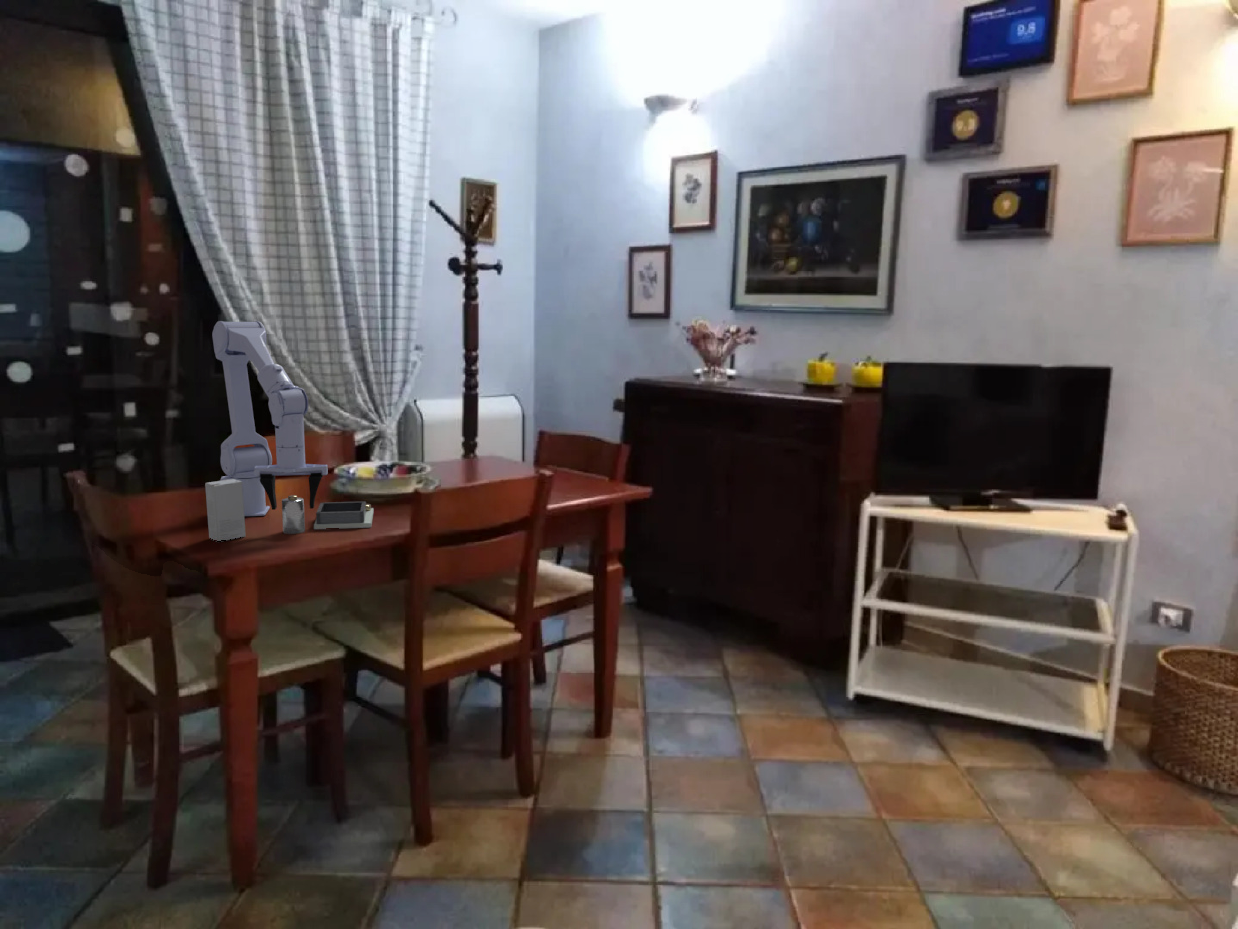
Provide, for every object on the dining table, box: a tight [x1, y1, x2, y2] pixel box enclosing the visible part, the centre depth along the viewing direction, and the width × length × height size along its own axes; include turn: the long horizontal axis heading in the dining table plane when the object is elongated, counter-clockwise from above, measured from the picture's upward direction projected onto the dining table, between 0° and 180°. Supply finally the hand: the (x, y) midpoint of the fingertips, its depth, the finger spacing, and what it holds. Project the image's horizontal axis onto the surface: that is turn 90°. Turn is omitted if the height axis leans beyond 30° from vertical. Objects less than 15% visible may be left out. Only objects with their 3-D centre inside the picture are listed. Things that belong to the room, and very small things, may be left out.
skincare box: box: [204, 479, 247, 542], centre depth 179 cm, size 6×4×12 cm
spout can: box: [281, 494, 306, 535], centre depth 187 cm, size 4×6×8 cm
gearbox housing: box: [313, 501, 374, 530], centre depth 196 cm, size 12×14×4 cm
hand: (293, 508), depth 186 cm, fingers open, 7 cm apart
